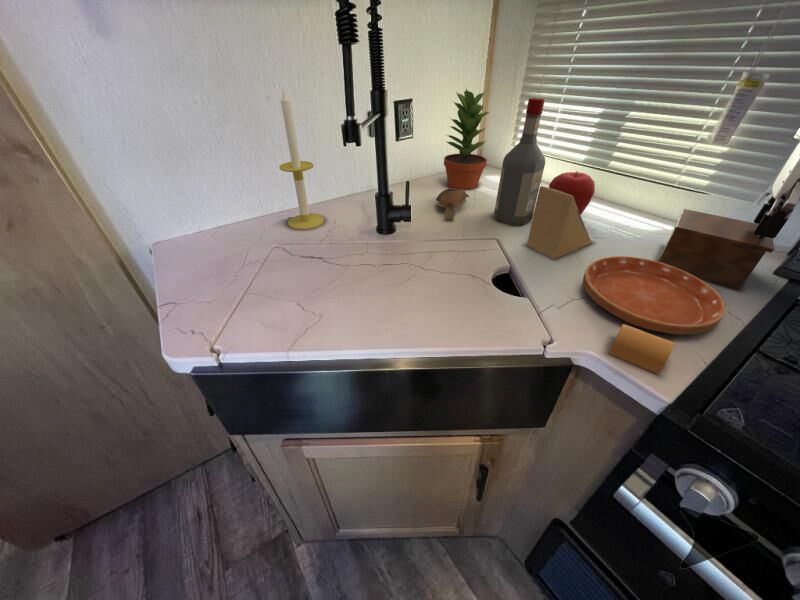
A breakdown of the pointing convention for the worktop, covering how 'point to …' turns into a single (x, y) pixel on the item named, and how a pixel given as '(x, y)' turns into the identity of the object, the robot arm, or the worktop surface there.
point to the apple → (575, 187)
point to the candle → (297, 173)
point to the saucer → (653, 295)
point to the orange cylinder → (641, 348)
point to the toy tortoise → (451, 201)
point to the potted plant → (466, 145)
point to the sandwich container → (556, 224)
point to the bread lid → (723, 229)
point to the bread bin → (710, 258)
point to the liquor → (521, 172)
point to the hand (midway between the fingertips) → (763, 229)
